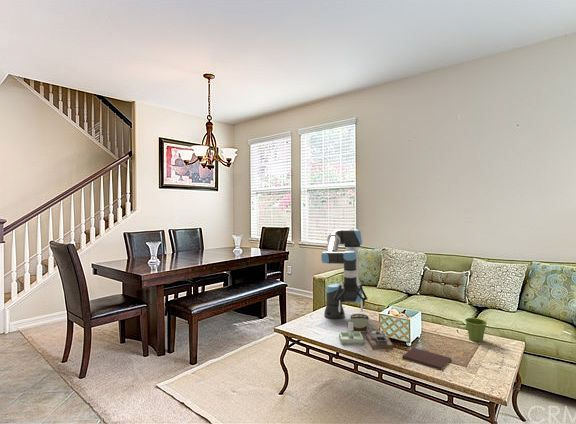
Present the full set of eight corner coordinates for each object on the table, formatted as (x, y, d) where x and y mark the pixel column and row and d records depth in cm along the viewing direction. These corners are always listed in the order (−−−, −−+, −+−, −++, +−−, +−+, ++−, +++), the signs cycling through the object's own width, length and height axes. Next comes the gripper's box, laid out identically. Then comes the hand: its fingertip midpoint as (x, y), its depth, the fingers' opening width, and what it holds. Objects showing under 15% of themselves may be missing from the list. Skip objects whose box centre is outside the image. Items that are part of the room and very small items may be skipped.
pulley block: (366, 337, 205) (366, 328, 205) (385, 337, 205) (385, 328, 205) (371, 348, 189) (371, 339, 189) (393, 348, 189) (393, 339, 189)
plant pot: (465, 341, 197) (464, 322, 197) (464, 334, 207) (464, 316, 207) (488, 345, 191) (488, 325, 191) (486, 337, 202) (486, 319, 202)
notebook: (413, 350, 188) (413, 346, 188) (450, 360, 174) (450, 356, 174) (402, 359, 177) (402, 355, 177) (440, 371, 163) (440, 367, 163)
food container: (367, 328, 221) (367, 313, 221) (369, 331, 215) (369, 316, 215) (349, 328, 222) (349, 313, 222) (350, 331, 216) (349, 316, 216)
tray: (339, 336, 208) (339, 331, 208) (359, 336, 207) (359, 331, 207) (341, 344, 196) (341, 339, 196) (363, 344, 196) (363, 339, 195)
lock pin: (348, 337, 203) (347, 321, 203) (353, 337, 203) (352, 321, 203) (348, 339, 200) (348, 323, 200) (353, 339, 200) (353, 323, 200)
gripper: (330, 278, 198) (330, 313, 199) (372, 277, 197) (372, 313, 198) (329, 275, 205) (329, 309, 206) (369, 274, 205) (369, 308, 205)
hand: (350, 311), depth 202 cm, fingers open, 13 cm apart
